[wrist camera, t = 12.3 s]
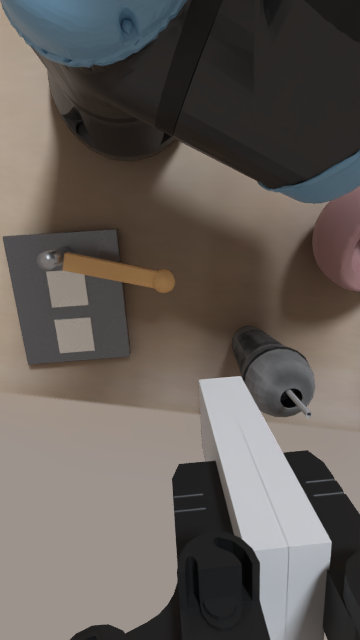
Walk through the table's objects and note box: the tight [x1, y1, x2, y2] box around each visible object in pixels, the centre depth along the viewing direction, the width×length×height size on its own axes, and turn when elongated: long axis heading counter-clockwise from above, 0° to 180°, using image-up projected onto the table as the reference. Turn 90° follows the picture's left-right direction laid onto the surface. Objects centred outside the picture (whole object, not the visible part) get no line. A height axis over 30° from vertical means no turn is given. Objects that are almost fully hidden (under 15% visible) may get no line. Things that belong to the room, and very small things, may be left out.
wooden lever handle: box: [63, 252, 175, 293], centre depth 37 cm, size 12×2×2 cm, turn 78°
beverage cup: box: [232, 326, 315, 418], centre depth 37 cm, size 7×7×20 cm
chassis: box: [3, 229, 130, 365], centre depth 40 cm, size 16×13×8 cm
